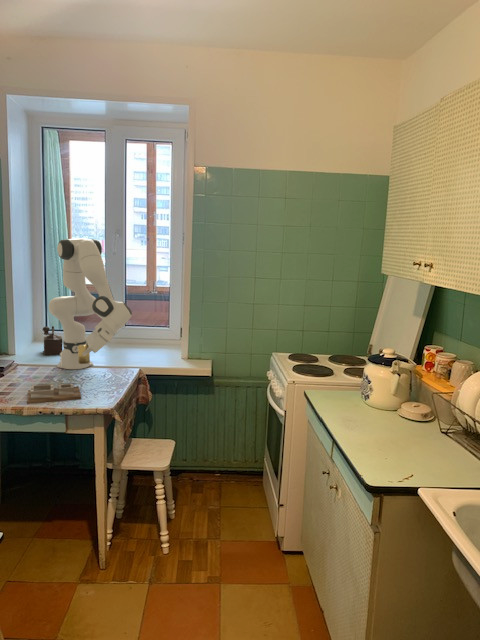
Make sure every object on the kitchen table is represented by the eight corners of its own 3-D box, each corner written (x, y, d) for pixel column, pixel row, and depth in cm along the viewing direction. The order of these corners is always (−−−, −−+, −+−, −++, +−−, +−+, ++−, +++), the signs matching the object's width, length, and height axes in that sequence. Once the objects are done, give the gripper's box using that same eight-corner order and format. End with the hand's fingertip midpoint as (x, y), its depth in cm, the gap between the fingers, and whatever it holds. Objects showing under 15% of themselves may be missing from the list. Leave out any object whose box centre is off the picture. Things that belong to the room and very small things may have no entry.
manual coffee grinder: (42, 351, 295) (41, 322, 292) (61, 350, 299) (61, 321, 296) (43, 357, 281) (42, 327, 278) (63, 356, 285) (62, 326, 282)
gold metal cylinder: (78, 361, 225) (77, 344, 224) (89, 360, 227) (88, 344, 225) (78, 364, 220) (78, 347, 219) (90, 363, 222) (89, 346, 221)
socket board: (28, 392, 220) (27, 383, 220) (78, 388, 229) (78, 380, 228) (27, 403, 207) (27, 394, 206) (81, 399, 215) (81, 390, 214)
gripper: (96, 323, 233) (75, 343, 231) (101, 331, 214) (79, 354, 212) (106, 331, 235) (85, 352, 233) (112, 340, 217) (89, 363, 215)
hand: (82, 353), depth 223 cm, fingers closed on gold metal cylinder, 5 cm apart
